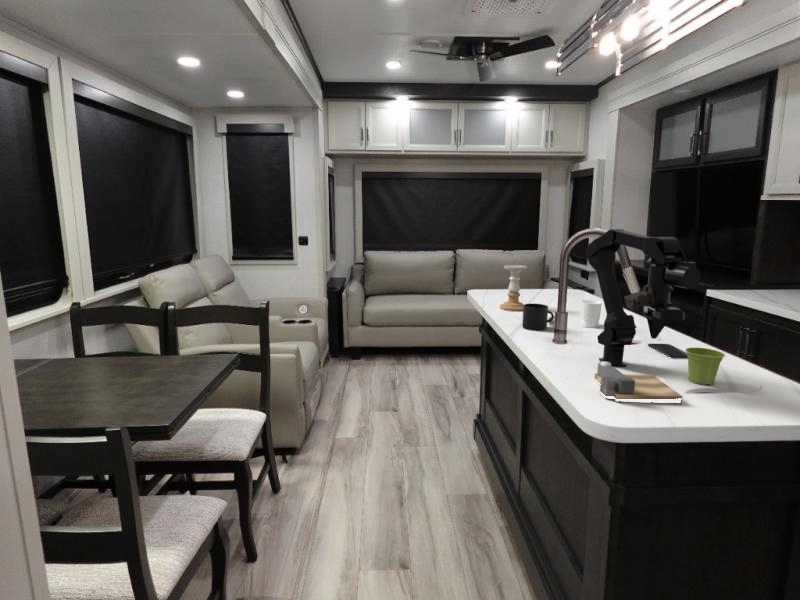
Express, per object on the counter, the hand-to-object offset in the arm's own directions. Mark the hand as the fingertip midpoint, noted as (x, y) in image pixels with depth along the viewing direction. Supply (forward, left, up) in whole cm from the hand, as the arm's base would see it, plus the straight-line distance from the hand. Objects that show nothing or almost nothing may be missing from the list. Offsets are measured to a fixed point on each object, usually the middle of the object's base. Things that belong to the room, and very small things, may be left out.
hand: (653, 338), depth 140 cm
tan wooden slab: (+10, -8, -12) cm, 18 cm away
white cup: (-63, +4, -12) cm, 64 cm away
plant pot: (+1, +14, -12) cm, 19 cm away
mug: (-58, -18, -12) cm, 62 cm away
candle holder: (-95, -21, -12) cm, 98 cm away
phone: (-28, +19, -13) cm, 36 cm away
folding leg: (+10, -14, -10) cm, 20 cm away
